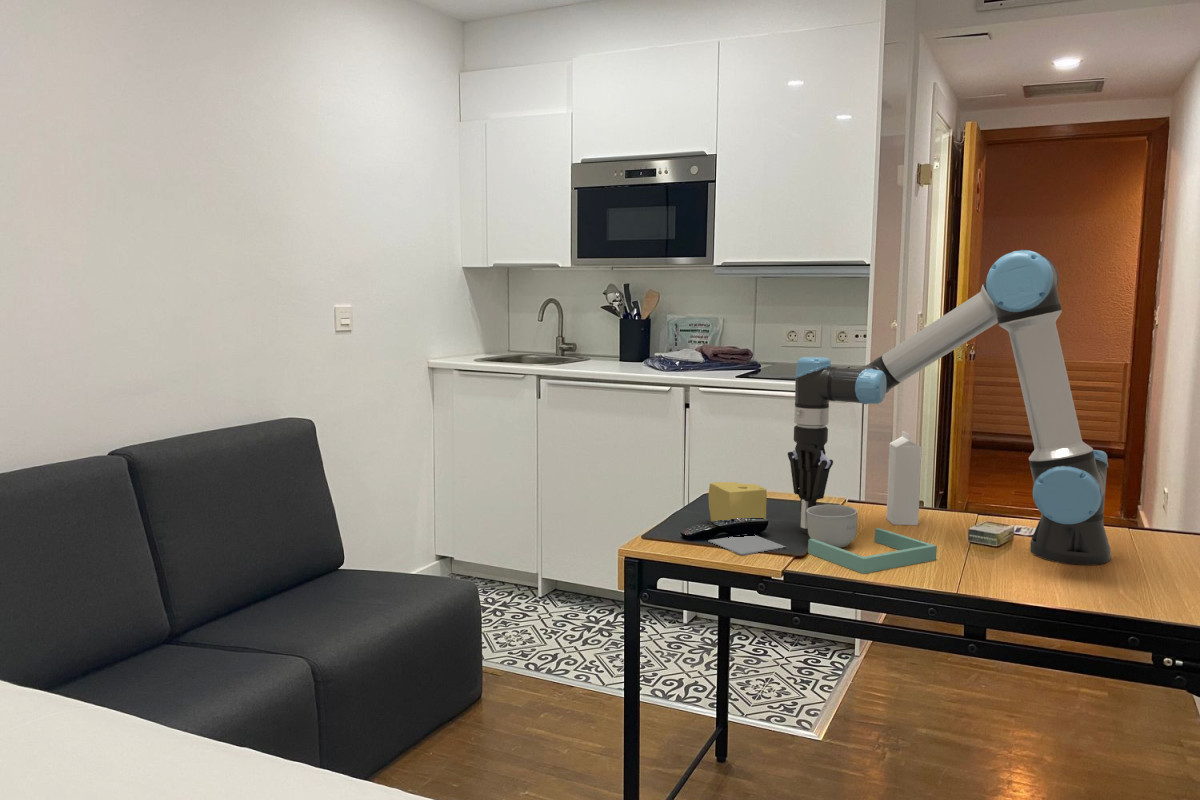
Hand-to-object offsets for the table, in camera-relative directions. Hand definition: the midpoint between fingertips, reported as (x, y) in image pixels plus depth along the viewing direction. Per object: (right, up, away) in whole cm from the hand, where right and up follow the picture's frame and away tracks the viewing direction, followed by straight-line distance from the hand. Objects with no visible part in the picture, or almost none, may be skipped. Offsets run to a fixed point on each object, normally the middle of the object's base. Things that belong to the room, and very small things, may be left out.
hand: (807, 527), depth 211 cm
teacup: (+4, -3, -7) cm, 8 cm away
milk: (+26, -1, +12) cm, 28 cm away
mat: (-15, -3, -9) cm, 18 cm away
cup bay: (+9, -4, -17) cm, 20 cm away
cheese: (-15, -1, +7) cm, 17 cm away
